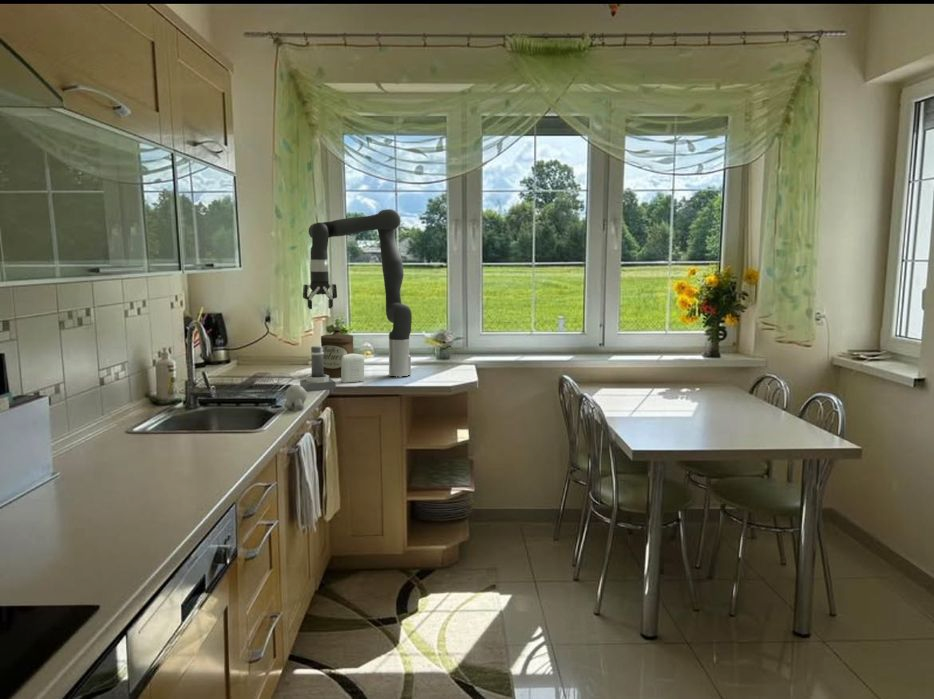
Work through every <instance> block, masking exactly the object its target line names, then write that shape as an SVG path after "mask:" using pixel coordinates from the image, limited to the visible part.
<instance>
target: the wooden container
mask: <svg viewBox="0 0 934 699" xmlns="http://www.w3.org/2000/svg"><path fill="white" fill-rule="evenodd" d="M341 330H342V329H341V328H340V327H337V326H336V327H334V328H333V329H332V331H333V333H331V334H324V335H321V336H320V346H322V347H323V352H324V355H323V368H324V375H329V378H336V379H337V378H339V377H340V378H341V359H342V356H344V355H347V354H355V353H354V352H355V351H354V335H352V334H346V333H345V334H342V333H341Z"/></svg>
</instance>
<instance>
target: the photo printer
mask: <svg viewBox="0 0 934 699" xmlns="http://www.w3.org/2000/svg"><path fill="white" fill-rule="evenodd" d="M340 380H341V383H343V384H347V383H356V382H357V383H358V382H359V381H361V382H364V381H365V356H364V354H360V353H354V354H347V355H344V356H342V359H341V377H340ZM359 383H360V382H359Z"/></svg>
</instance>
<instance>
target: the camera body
mask: <svg viewBox="0 0 934 699" xmlns="http://www.w3.org/2000/svg"><path fill="white" fill-rule="evenodd" d="M305 377H306V378H303V377H302V378H301V379H300V380H299V386H302V387H303V388H304V389H305V391H306V392H313V391H314V392H315V391H324V390H336V388H337V387H336V380H334V379H331V378H330V377H329V375H324V377H320V378H313V377H312V374H309V375H306V376H305Z"/></svg>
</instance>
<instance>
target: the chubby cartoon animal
mask: <svg viewBox="0 0 934 699" xmlns="http://www.w3.org/2000/svg"><path fill="white" fill-rule="evenodd" d="M284 395H285V396H284V397H285V402H284V404H283V407H284V408H286V409H287V410H290V411H291V410H295V408H296V410H299V411H301V410H304V408H305V406H304V404H305V401H306V399H307V391H306V390H305V389H304V388H303V387H302V386H300V384H299V385H298V384H295V385H291V386H289V387H288V388H287V389H286V391H285V394H284Z"/></svg>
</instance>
